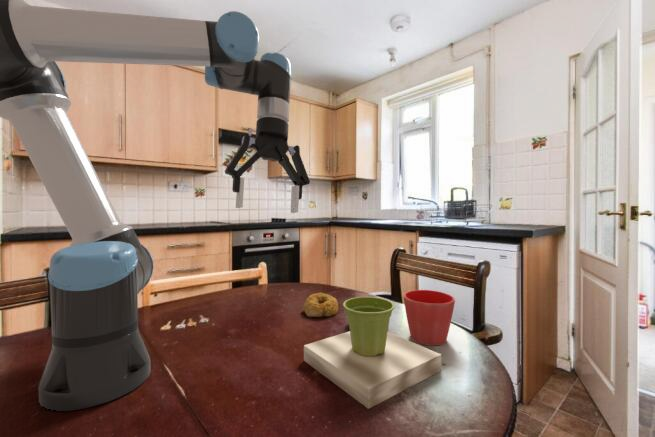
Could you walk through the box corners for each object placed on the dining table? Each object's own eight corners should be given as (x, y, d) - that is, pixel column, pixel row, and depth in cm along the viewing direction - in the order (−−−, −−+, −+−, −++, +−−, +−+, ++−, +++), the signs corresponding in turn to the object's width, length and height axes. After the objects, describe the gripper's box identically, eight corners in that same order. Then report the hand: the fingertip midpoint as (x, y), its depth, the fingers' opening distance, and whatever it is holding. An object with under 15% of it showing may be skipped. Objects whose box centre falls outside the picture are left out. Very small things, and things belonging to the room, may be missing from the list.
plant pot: (394, 364, 53) (394, 313, 53) (339, 359, 55) (339, 310, 55) (394, 341, 62) (394, 298, 62) (347, 337, 64) (347, 295, 64)
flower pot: (449, 353, 63) (449, 306, 63) (396, 341, 69) (397, 298, 68) (458, 335, 72) (458, 293, 72) (411, 326, 78) (411, 287, 77)
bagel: (294, 315, 86) (295, 297, 86) (316, 304, 96) (316, 289, 96) (325, 322, 81) (325, 304, 81) (345, 310, 91) (345, 294, 90)
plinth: (368, 408, 46) (368, 388, 46) (303, 360, 60) (303, 345, 60) (441, 370, 56) (441, 354, 56) (371, 337, 71) (371, 324, 71)
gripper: (310, 136, 84) (307, 215, 83) (215, 113, 71) (208, 206, 69) (325, 128, 78) (321, 213, 76) (223, 101, 65) (216, 203, 63)
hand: (268, 210), depth 73 cm, fingers open, 13 cm apart
